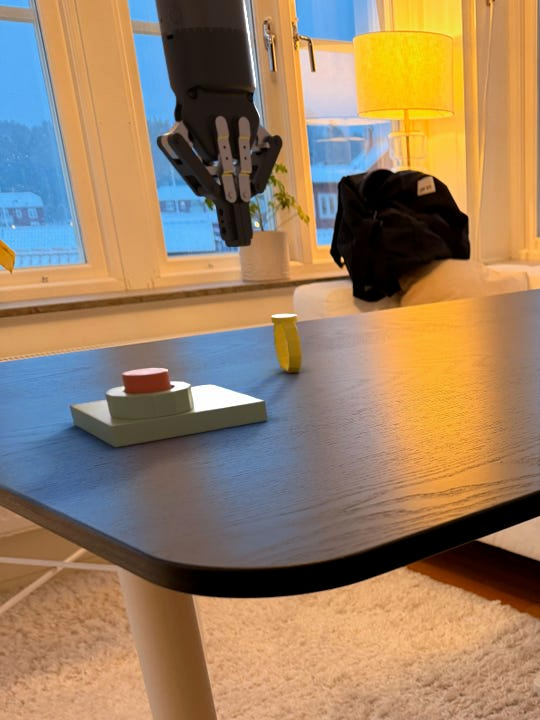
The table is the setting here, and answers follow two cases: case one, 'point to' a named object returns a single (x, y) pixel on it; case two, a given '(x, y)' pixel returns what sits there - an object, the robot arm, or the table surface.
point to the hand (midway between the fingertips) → (238, 246)
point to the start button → (146, 380)
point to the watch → (287, 333)
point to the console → (165, 413)
